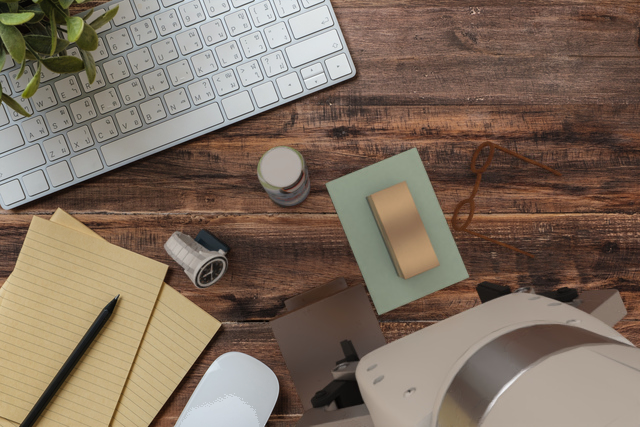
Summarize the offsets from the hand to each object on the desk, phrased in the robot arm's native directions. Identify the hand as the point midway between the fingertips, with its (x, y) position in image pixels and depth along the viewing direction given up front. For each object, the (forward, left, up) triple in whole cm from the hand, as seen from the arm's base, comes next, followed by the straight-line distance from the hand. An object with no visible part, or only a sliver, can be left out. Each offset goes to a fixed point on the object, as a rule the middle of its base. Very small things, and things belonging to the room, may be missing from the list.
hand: (421, 333), depth 31 cm
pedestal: (-5, +6, -36) cm, 37 cm away
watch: (+11, +18, -36) cm, 42 cm away
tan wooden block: (+4, -8, -36) cm, 37 cm away
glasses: (+2, -24, -36) cm, 44 cm away
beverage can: (+16, +4, -36) cm, 40 cm away
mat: (+4, -8, -36) cm, 37 cm away
